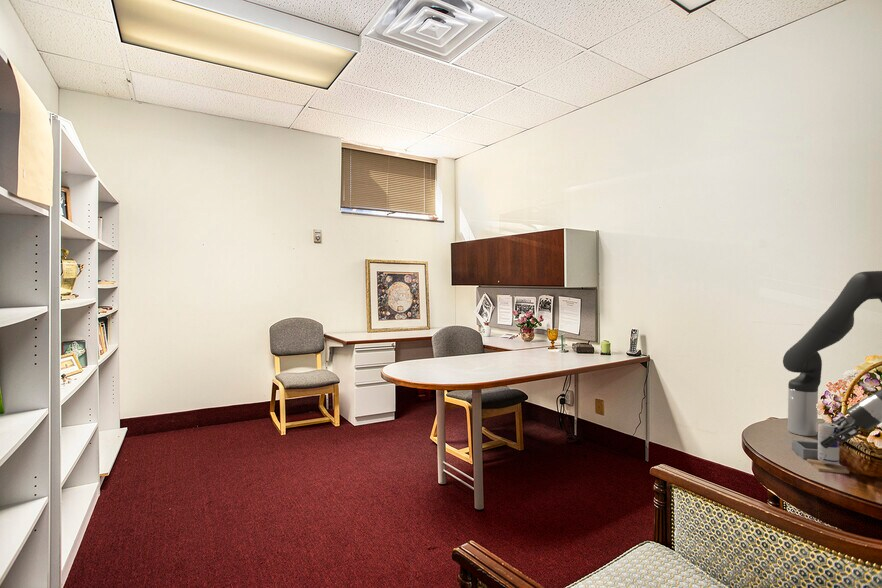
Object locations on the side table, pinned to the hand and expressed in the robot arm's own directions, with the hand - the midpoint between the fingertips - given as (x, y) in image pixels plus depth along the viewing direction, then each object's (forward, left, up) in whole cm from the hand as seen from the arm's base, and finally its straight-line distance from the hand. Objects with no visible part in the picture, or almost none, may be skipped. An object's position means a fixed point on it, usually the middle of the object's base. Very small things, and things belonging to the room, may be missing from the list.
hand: (821, 442), depth 151 cm
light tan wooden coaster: (0, +2, -8) cm, 8 cm away
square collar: (-10, +2, -8) cm, 12 cm away
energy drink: (0, +2, -6) cm, 6 cm away
